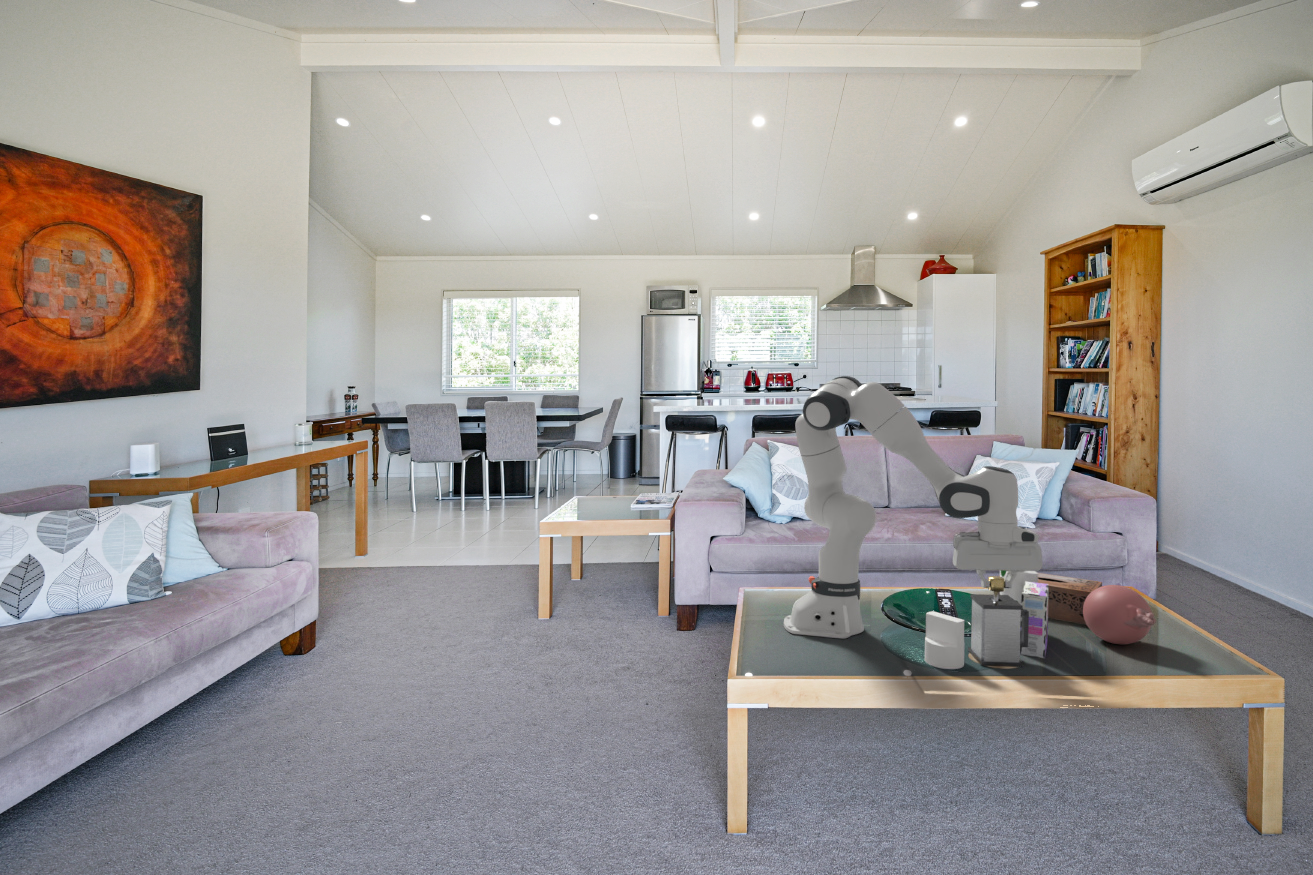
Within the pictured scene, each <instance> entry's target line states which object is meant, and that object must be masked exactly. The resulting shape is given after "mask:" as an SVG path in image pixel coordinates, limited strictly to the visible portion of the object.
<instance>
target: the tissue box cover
mask: <svg viewBox="0 0 1313 875" xmlns="http://www.w3.org/2000/svg"><path fill="white" fill-rule="evenodd" d="M1037 573H1038V583H1044V584H1049V587H1048V619H1052V620H1058V621H1064V622H1069V623H1075V624H1081V625H1086V626H1087V624H1086V622H1085V620H1084V616H1083V605H1084V602H1085V600H1086V598H1087V596H1088V595H1089V594H1090V593H1091V592H1092V591H1094V590H1095V589H1097V588H1099V587H1102V586H1103V581H1099V580H1091V579H1084V578H1079V577H1078V578H1076V577H1070V576H1064V575H1058V574H1057V575H1056V574H1049V573H1043V572H1037ZM998 576H999V577H1000V574H999V575H998ZM998 595H1000V592H998Z"/></svg>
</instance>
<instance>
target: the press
mask: <svg viewBox="0 0 1313 875" xmlns="http://www.w3.org/2000/svg"><path fill="white" fill-rule="evenodd" d="M970 599H971V631H970V632H971V637H970V638H971V639H970V640H971V641H970V647H969V646H968V647H967V651H968V654H969V653H970V654H971V655H972V656H973V657H974V658H975V659H976V660H977V661H978V663H979V665H980V666H981V667H988V666H1004V667H1017V668H1023V667H1024V662H1023V661H1022V660H1021V658H1020V656H1021V654H1020V647H1028V629H1029V611H1027V610H1025V609H1023V606H1022V605H1021V604H1019V603H1018V602H1017V601H1015V600H1014V599H1013V598H1011V597H1010V596H1008V595H998V601H994V594H982V593H981V594H980V593H979V594H977V593H973V594H972V593H971V594H970ZM1021 615H1022V628H1021V641H1020V620H1021ZM1020 660H1021V661H1020ZM978 663H977V664H978Z"/></svg>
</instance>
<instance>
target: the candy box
mask: <svg viewBox="0 0 1313 875" xmlns="http://www.w3.org/2000/svg"><path fill="white" fill-rule="evenodd" d="M1048 587H1049V584H1044V583H1036V582H1027V581H1025V585H1024V588H1023V591H1022V595H1021V605H1022V606H1023V609H1025V610H1027V611H1029V629H1028V647H1020V655H1022V656H1023V655H1024V656H1028V657H1029V656H1030V657H1035V658H1041V659H1046V654H1047V646H1048V629H1049V628H1048V627H1049V618H1048ZM1021 628H1022V615H1021ZM1021 628H1020V641H1021Z"/></svg>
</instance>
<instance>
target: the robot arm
mask: <svg viewBox="0 0 1313 875" xmlns="http://www.w3.org/2000/svg"><path fill="white" fill-rule="evenodd" d="M850 420H853V421H854V420H855V421H857V422H859V423H861V425H862V426H863V427H864V428H865V430H867V431H868V433H870V435H871V436H872V437H873V438H874V440H876V441H877V442H878V443H879V444H881V446H883V447H884V448H885V449H887V450H888V451H889V452H891V453H893V454H895V455H899V456H901V457H903V458H905V459H906V460H907V461H909V462H910V463H911V464H913V465H914V466H915V468H916V469H917V470H918V471H919V472H920V473H921V474H922V475H923V476H924V478H925V479H926V480H927V481H928V482H929V483H930V484H931V486H932V487H933V489H934V492H935V497H936V499H937V501H938V504H939V506H940V509H941V510H942V511H943V512H944V513H945V514H946V515H947V516H949V517H952V518H954V519H955V518H956V519H968V518H975V517H977V531H969V532H967V531H960V532H958V533H957V534H955V535H954V536H953V540H952V545H953V553H952V564H953V566H954V567H955V568H956V569H957V570H961V571H962V570H964V571H967V570H968V571H976V574H977V575H978V577H979V579H980V583H981V584H980V585H981V587H982V588H983V589H985V588H986V589H988V588H990V585H989V584H990V581H989V580H988V578H985V576H984V575H986V572H987V571H1000V570H1005V571H1008V573H1009V575H1008V577H1007V579H1006V580H1004V588H1011V587H1012V581H1013V580H1014V578H1015V577H1016V575H1017V571H1035V572H1039V571H1040V570H1041V569H1042V568H1043V553H1042V552H1043V551H1042V548H1041V545H1040V544H1039V540H1040V535H1039V534H1038V533H1037V532H1035V531H1033V530H1031V529H1028V528H1026V527H1023V526H1020V525H1019V522H1018V521H1019V520H1018V516H1017V509H1018V505H1019V487H1018V486H1019V485H1018V484H1019V483H1018V479H1017V476H1016V475H1015V473H1013V472H1012V471H1010V470H1009V469H1006V468H1002V467H998V466H991V465H988V466H987V465H986V466H982V468H980V469H978V470H977V471H974V472H973V473H970V474H968V475H963V474H962V473H959V472H957V471H955V470H953V469H952V468H951V467H950V466H949V465H948V464H947V463H946V462H945V461H944V460H943V459H942V458H941V457H940V456H939V454H938V453H937V452H936V451H935V450H934V449H933V447H932V446H931V445H930V444H929V443H928V441H927V439H926V436H925V434H924V431H923V429H922V427H921V425H920V424H919V422H918V421H917V419H916V417H915V416H914V415H913V414H912V411H911V410H910V409H908V407H907V406H906V405H905V404H904V403H903V402H902V401H901V400H900V399H899V398H898V397H896V395H895V394H894V393H892V392H891V391H890V390H888V389H887V388H886V387H885V386H883V385H882V384H881V383H878V382H875V381H870V382H866V383H864V384H862V383H861V382H860V381H859V380H858V379H857V378H855V377H853V376H851V375H849V376H848V375H843V376H837V377H835V378H832V380H830V381H828V382H825V383H824V384H822V385H821V386H820V387H819V388H818V389H817V390H815V392H814V391H813V392H812V393H811V394H810V395H809V396H808V397H807V399H806V400H805V402H804V403H803V408H802V413H801V414H800V415H799V416H798V417H797V418H796V421H795V434H796V435H795V436H796V440H797V445H798V449H799V452H800V457H801V459H802V463H803V467H804V470H805V474H806V478H807V483H808V484H807V485H808V486H807V487H808V496H807V497H806V499H805V502H804V513H805V515H806V516H807V518H808V519H809V520H810V521H812V522H813V523H814V524H815V525H817V526H819V527H822V528H825V529H828V536H827V539H826V543H825V544H824V546H822V547H821V548H820V549H819V551H818V577H815V576H814V575H811V576H809V577H808V582H809V583H810V584H811V586H810V587H811V590H809V591H808V592H807V593H806V594H804V595H802V596H801V597H799V598H798V599H797V600H796V601H795V602H794V603H793V606H792V609H791V614H789V615H787V616H785V617H784V619H783V627H784V629H785V630H786V632H788V633H791V634H793V635H803V636H813V637H822V638H823V637H824V638H833V639H834V638H835V639H847V638H849V637H851V636H854V635H855V636H856V635H858V634H860V633H862V632H864V631H865V627H864V624H863V619H862V614H861V608H860V607H861V606H860V598H861V580H860V578H859V566H860V565H859V564H860V563H859V562H860V552H861V548H862V545H863V542H864V540H865V539H866V538H865V537H866V536H867V535H868V534H869V533H871V531H872V530H873V529H874V527H875V526H876V524H877V523H876V522H877V512H876V509H875V508H874V506H873V504H872V503H871V502H869V501H867V500H865V499H863V498H862V497H860V496H858V495H857V496H856V495H852V494H848V493H845V491H844V488H843V477H844V476H845V474H846V473H847V464H846V461H845V458H844V454H843V450H842V447H841V444H840V442H839V438H838V435H837V428H838V427H840V426H843V425H846V424H848V423H849V421H850Z"/></svg>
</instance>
